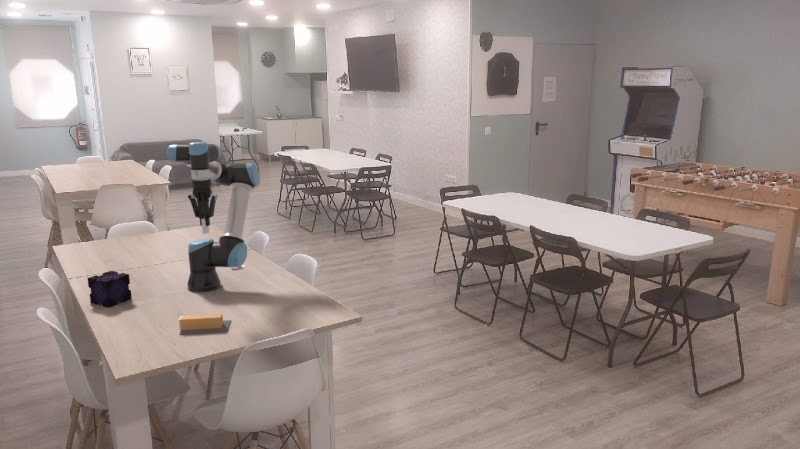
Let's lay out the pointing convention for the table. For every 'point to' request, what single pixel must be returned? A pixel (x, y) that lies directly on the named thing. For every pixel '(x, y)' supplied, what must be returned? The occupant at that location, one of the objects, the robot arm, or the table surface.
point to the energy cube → (109, 288)
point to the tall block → (200, 321)
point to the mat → (223, 329)
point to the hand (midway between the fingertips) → (205, 233)
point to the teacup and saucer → (237, 267)
